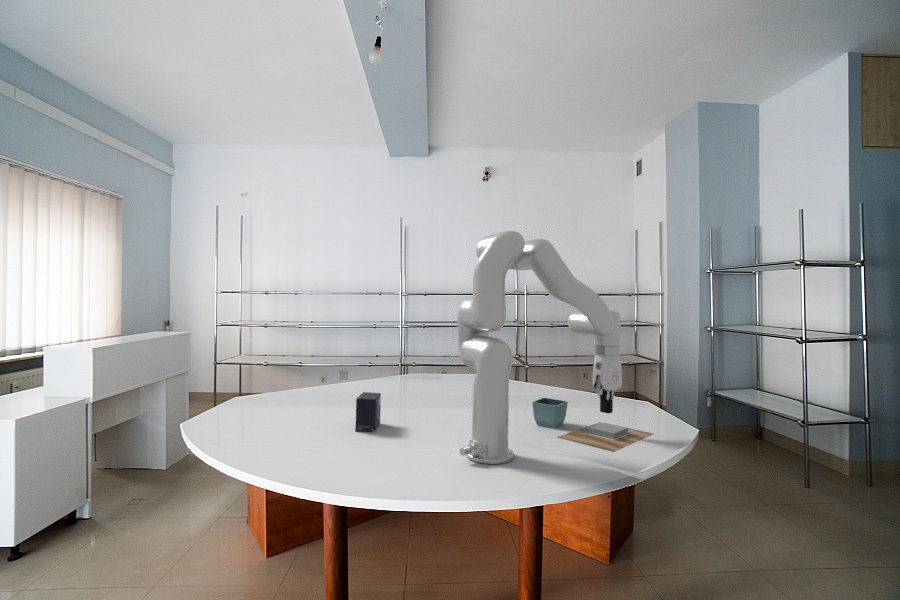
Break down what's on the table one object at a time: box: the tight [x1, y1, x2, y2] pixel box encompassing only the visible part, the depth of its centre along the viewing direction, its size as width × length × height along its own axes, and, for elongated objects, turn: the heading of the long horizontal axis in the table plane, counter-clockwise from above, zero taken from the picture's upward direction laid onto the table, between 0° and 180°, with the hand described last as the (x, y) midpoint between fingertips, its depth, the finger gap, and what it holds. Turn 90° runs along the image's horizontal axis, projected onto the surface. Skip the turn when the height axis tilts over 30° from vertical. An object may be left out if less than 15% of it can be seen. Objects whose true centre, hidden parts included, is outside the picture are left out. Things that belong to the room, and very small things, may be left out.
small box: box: [354, 391, 382, 433], centre depth 151 cm, size 11×6×10 cm, turn 179°
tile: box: [589, 422, 629, 440], centre depth 142 cm, size 2×8×9 cm
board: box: [556, 422, 654, 453], centre depth 141 cm, size 26×18×1 cm
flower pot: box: [532, 397, 569, 429], centre depth 152 cm, size 9×9×9 cm
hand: (606, 412), depth 141 cm, fingers closed
